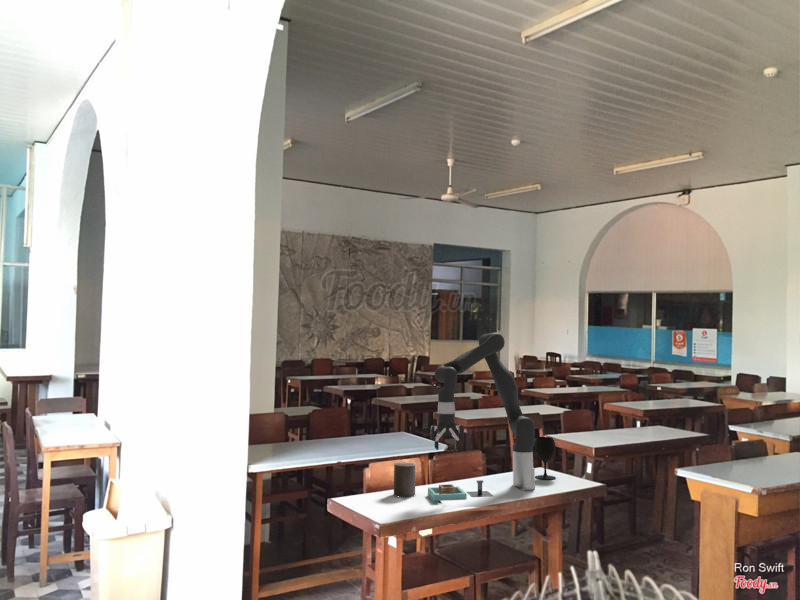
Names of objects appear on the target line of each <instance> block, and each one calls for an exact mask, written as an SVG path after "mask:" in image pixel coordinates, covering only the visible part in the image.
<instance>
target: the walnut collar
mask: <svg viewBox="0 0 800 600" xmlns="http://www.w3.org/2000/svg"><path fill="white" fill-rule="evenodd" d="M438 487H439V493H438V494H456V492H455V487H456V486H455V485H454V484H453V483H452V484H451V483H448V484H447V483H446V484H438Z"/></svg>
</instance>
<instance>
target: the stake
mask: <svg viewBox="0 0 800 600" xmlns="http://www.w3.org/2000/svg"><path fill="white" fill-rule="evenodd" d="M476 483H477V491H466V494H467V495H469V496H470V497H472V498H487V497H490V498H491V497H494V494H493V493H491V492H489V491H488V490H484V491H483V483H484V480H483V479H481V480H480V479H479V480H476Z"/></svg>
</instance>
